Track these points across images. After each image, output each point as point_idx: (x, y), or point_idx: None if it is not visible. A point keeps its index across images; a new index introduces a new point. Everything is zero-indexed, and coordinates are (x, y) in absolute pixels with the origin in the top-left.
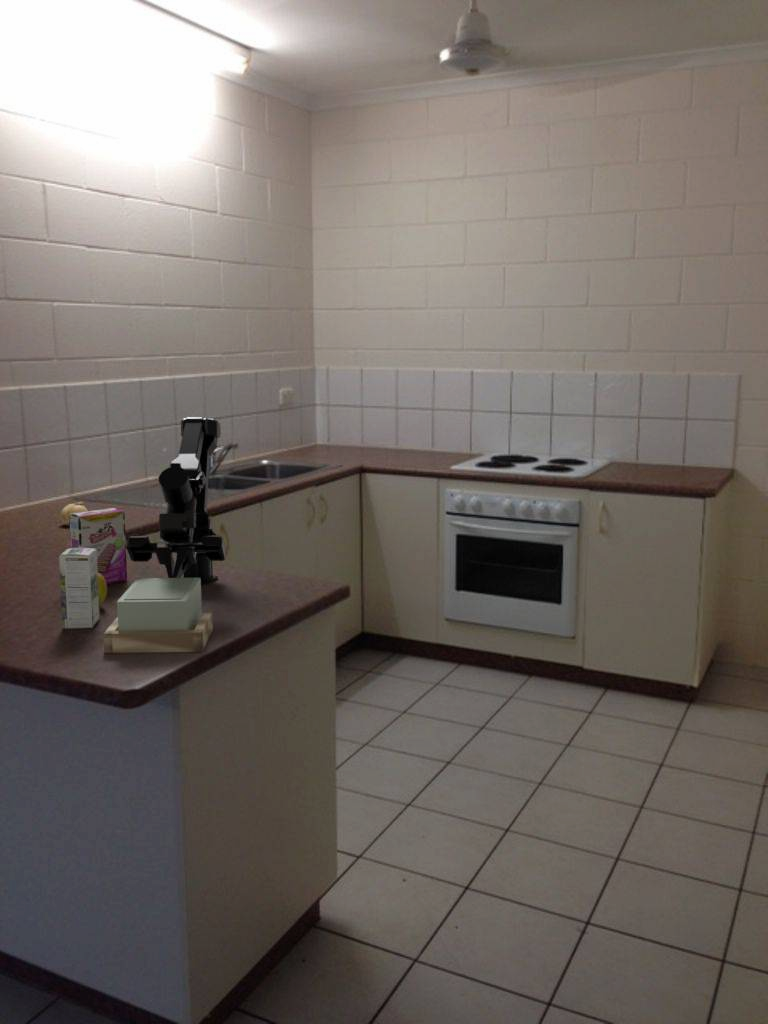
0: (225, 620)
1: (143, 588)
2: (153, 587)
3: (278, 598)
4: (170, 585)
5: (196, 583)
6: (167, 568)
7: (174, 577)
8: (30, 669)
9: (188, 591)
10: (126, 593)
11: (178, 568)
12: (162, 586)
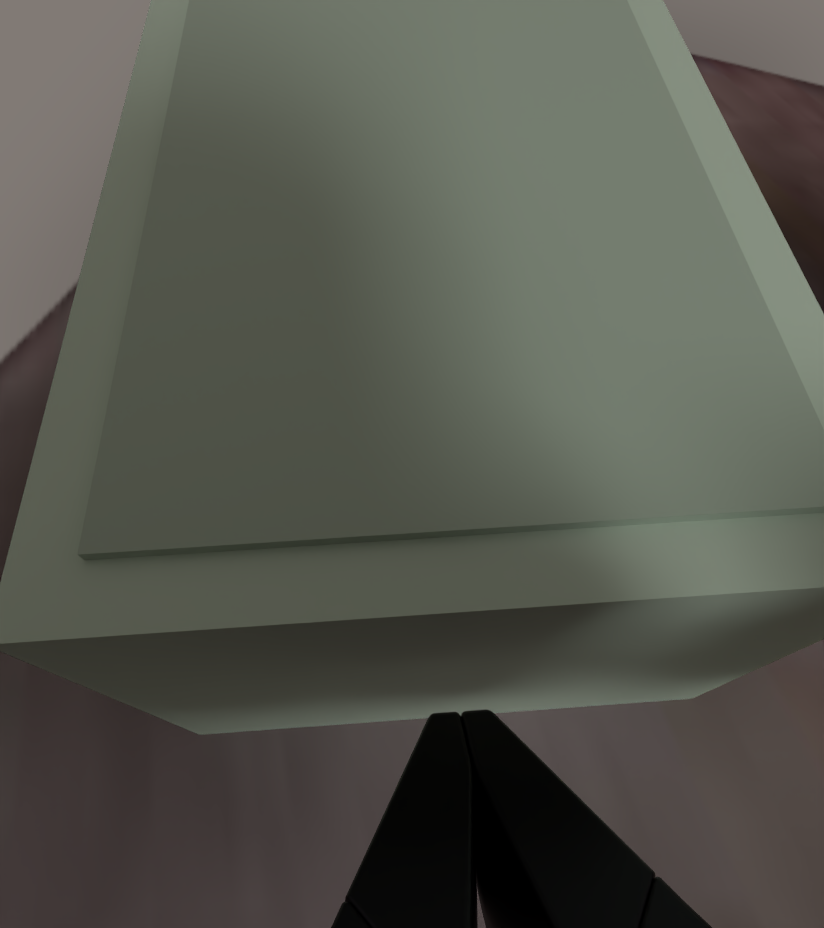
0: (6, 772)
1: (595, 159)
2: (509, 187)
3: None
4: (351, 248)
5: (62, 362)
6: (625, 875)
7: (436, 766)
8: (805, 86)
9: (146, 134)
10: (687, 87)
11: (375, 884)
12: (428, 216)
